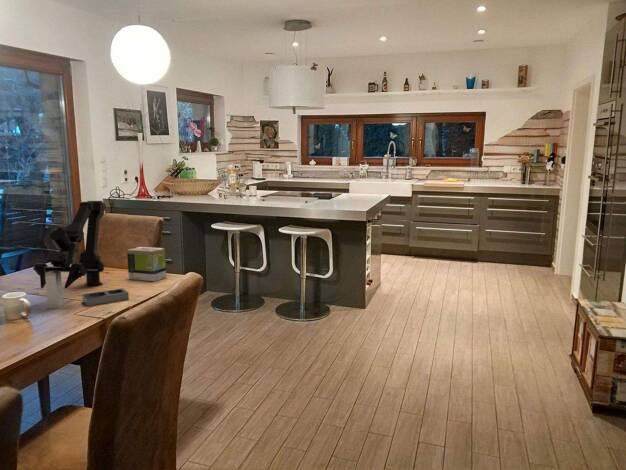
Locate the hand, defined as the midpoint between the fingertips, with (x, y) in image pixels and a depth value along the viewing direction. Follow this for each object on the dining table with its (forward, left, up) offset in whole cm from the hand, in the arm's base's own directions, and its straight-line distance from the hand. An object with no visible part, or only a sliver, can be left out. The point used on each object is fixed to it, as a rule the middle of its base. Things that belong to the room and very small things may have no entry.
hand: (53, 288), depth 188 cm
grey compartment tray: (+3, +18, -8) cm, 20 cm away
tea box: (-24, +44, -8) cm, 51 cm away
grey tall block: (0, 0, -8) cm, 8 cm away
